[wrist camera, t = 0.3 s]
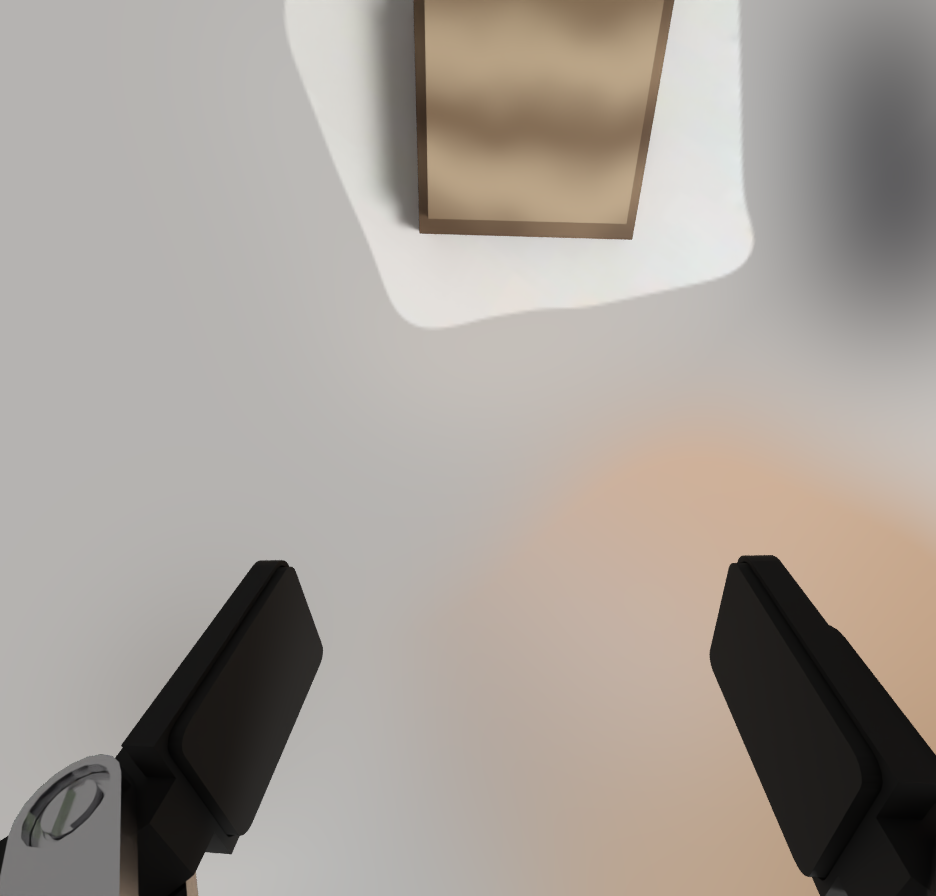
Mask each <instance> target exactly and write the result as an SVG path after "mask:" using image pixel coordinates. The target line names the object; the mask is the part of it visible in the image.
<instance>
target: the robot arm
mask: <svg viewBox="0 0 936 896" xmlns="http://www.w3.org/2000/svg"><path fill="white" fill-rule="evenodd" d="M322 655H323V647H322V644H321V640H320V638H319V635H318V632H317V629H316V627H315V624H314V621H313V618H312V616H311V613H310V610H309V607H308V605H307V602H306V599H305V596H304V594H303V590H302V588H301V585H300V582H299V579H298V577H297V574H296V571H295V569H294V568H293V567H289V565H288V563H287V562H286V561H282V560H271V561H258V562H256V563H255V564H254V565H253V566H252V568H251V569H250V571H249V572H248V573H247V575H246V576H245V577H244V579H243V580H242V581H241V583H240V584H239V586H238V587H237V588H236V590H235V591H234V592H233V594H232V595H231V596H230V598H229V599H228V600H227V602H226V603H225V605H224V606H223V607H222V609H221V610H220V611H219V613H218V614H217V615H216V617H215V618H214V620H213V621H212V622H211V624H210V625H209V626H208V628H207V629H206V630H205V632H204V633H203V635H202V636H201V637H200V639H199V640H198V641H197V643H196V644H195V645H194V647H193V648H192V650H191V651H190V652H189V654H188V655H187V656H186V658H185V659H184V660H183V662H182V663H181V665H180V666H179V667H178V669H177V670H176V671H175V673H174V674H173V675H172V677H171V678H170V679H169V681H168V682H167V684H166V685H165V686H164V688H163V689H162V690H161V692H160V693H159V694H158V696H157V697H156V699H155V700H154V701H153V703H152V704H151V705H150V707H149V708H148V710H147V711H146V712H145V714H144V715H143V716H142V718H141V719H140V721H139V722H138V723H137V725H136V726H135V727H134V729H133V730H132V731H131V733H130V734H129V735H128V737H127V738H126V740H125V741H124V742H123V744H122V745H121V746H122V747H123V748H122V749H121V751H120V752H119V754H118V755H117V756H116V758H114V757H113V756H109V755H103V754H100V755H95V756H89V757H86V758H84V759H82V760H80V761H77V762H75V763H72V764H71V765H69V766H67V767H66V768H64V769H63V770H61V771H60V772H58V773H57V774H55V775H54V776H53V777H52V778H50V779H49V780H48V781H47V782H46V783H45V784H43V785H42V786H41V787H40V788H39V789H38V790H37V791H36V792H35V793H34V794H33V796H32V797H31V798H30V799H29V800H28V801H27V802H26V803H25V805H24V806H23V808H22V809H21V811H20V813H19V814H18V816H17V817H16V819H15V820H14V823H13V825H12V828H11V831H10V833H9V836H7V837H6V838H4V839H3V840H1V841H0V896H198V889H197V879H196V870H197V868H198V865H199V863H200V861H201V859H202V857H203V855H204V853H205V852H210V853H224V854H232V852H233V850H234V847H235V845H236V843H237V840H238V838H239V836H241V835H244V834H245V833H246V832H247V831H248V829H249V828H250V826H251V824H252V822H253V820H254V817H255V815H256V813H257V810H258V808H259V806H260V803H261V801H262V799H263V796H264V794H265V792H266V789H267V787H268V785H269V782H270V780H271V778H272V775H273V773H274V771H275V768H276V766H277V763H278V761H279V759H280V757H281V754H282V752H283V749H284V747H285V745H286V743H287V740H288V738H289V735H290V733H291V731H292V729H293V726H294V724H295V722H296V719H297V717H298V715H299V712H300V710H301V708H302V705H303V703H304V700H305V698H306V696H307V694H308V691H309V689H310V686H311V684H312V682H313V680H314V677H315V675H316V673H317V670H318V668H319V665H320V663H321V660H322ZM710 662H711V666H712V669H713V672H714V674H715V677H716V679H717V681H718V684H719V686H720V688H721V691H722V693H723V695H724V697H725V700H726V702H727V705H728V707H729V709H730V712H731V714H732V716H733V719H734V721H735V723H736V726H737V728H738V730H739V733H740V735H741V737H742V740H743V742H744V744H745V747H746V749H747V751H748V754H749V756H750V758H751V761H752V763H753V765H754V768H755V770H756V772H757V774H758V777H759V779H760V781H761V784H762V786H763V788H764V791H765V793H766V795H767V798H768V800H769V802H770V805H771V807H772V809H773V812H774V814H775V816H776V819H777V821H778V823H779V826H780V828H781V830H782V833H783V835H784V837H785V840H786V842H787V844H788V847H789V849H790V851H791V853H792V856H793V858H794V860H795V862H796V864H797V866H798V868H799V869H800V871H801V872H802V873H803V874H804V875H805V876H808V877H812V878H813V881H814V883H815V885H816V887H817V890H818V892H819V894H820V896H936V755H935V754H934V752H933V751H932V750H931V748H930V747H929V746H928V745H927V743H926V742H925V741H924V739H923V738H922V737H921V735H919V733H918V732H917V730H916V729H915V728H914V727H913V725H912V724H911V723H910V721H909V720H908V719H907V717H906V716H905V715H904V713H903V712H902V711H901V710H900V708H899V707H898V706H897V704H896V703H895V702H894V701H893V699H892V698H891V697H890V695H889V694H888V693H887V691H886V690H885V689H884V687H883V686H882V685H881V684H880V682H879V681H878V680H877V678H876V677H875V676H874V675H873V673H872V672H871V671H870V669H869V668H868V667H867V666H866V664H865V663H864V662H863V660H862V659H861V658H860V657H859V655H858V654H857V653H856V651H855V650H854V649H853V647H852V646H851V645H850V644H849V642H848V641H847V640H846V638H845V637H844V636H843V635H842V634H841V633H840V632H839V631H838V630H837V629H835V628H833V627H832V626H830V625H828V623H827V622H826V621H825V620H824V618H823V617H822V616H821V614H820V613H819V612H818V610H817V609H816V608H815V606H814V605H813V604H812V602H811V601H810V600H809V598H808V597H807V596H806V594H805V593H804V592H803V590H802V589H801V588H800V587H799V585H798V584H797V582H796V581H795V580H794V579H793V577H792V576H791V575H790V573H789V572H788V571H787V569H786V568H785V567H784V565H783V564H782V563H781V561H780V560H779V559H778V558H777V557H775V556H773V555H763V556H762V555H759V556H757V555H756V556H741V557H740V558H739V559H738V562H737V563H732V564H731V565H730V566H729V570H728V574H727V578H726V583H725V587H724V591H723V596H722V600H721V605H720V609H719V613H718V618H717V622H716V626H715V631H714V636H713V640H712V644H711V649H710Z"/></svg>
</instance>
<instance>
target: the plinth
mask: <svg viewBox="0 0 936 896" xmlns="http://www.w3.org/2000/svg"><path fill="white" fill-rule="evenodd" d="M673 5H674V0H414V37H415V76H416V115H417V153H418V192H419V231H420V233H422V234H457V235H491V236H525V237H559V238H594V239H628V240H632V237H633V231H634V226H635V220H636V214H637V209H638V203H639V197H640V192H641V186H642V180H643V175H644V169H645V163H646V158H647V152H648V146H649V141H650V135H651V129H652V124H653V118H654V112H655V107H656V101H657V95H658V90H659V84H660V78H661V73H662V67H663V61H664V56H665V50H666V44H667V39H668V33H669V27H670V22H671V16H672V10H673Z"/></svg>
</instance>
